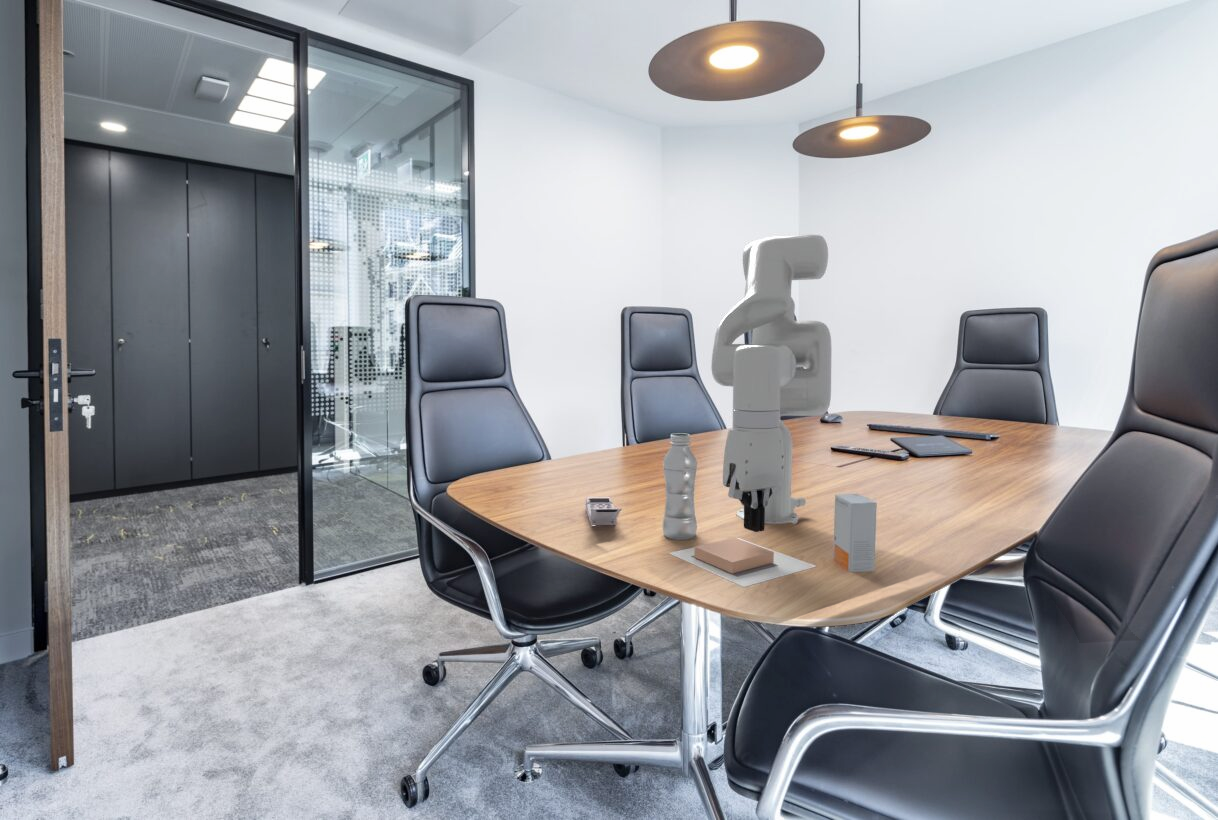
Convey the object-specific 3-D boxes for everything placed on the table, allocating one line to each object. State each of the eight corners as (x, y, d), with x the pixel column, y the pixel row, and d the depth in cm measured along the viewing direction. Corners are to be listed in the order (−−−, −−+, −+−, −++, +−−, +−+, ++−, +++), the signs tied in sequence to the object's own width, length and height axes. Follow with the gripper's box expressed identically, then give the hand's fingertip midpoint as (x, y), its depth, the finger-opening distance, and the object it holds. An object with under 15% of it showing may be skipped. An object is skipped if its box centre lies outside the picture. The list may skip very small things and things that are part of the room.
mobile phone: (591, 509, 116) (584, 480, 141) (590, 539, 117) (583, 505, 142) (622, 508, 117) (610, 480, 142) (622, 538, 118) (609, 505, 142)
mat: (737, 542, 114) (737, 537, 113) (816, 572, 98) (817, 565, 98) (668, 558, 105) (668, 552, 105) (743, 593, 90) (743, 586, 90)
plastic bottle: (700, 536, 117) (701, 432, 115) (693, 547, 111) (693, 437, 109) (667, 533, 119) (667, 431, 118) (658, 544, 113) (658, 436, 111)
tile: (734, 537, 107) (694, 546, 102) (773, 551, 99) (732, 562, 94) (734, 548, 107) (694, 558, 102) (773, 563, 99) (732, 574, 95)
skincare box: (831, 564, 102) (833, 493, 101) (856, 564, 102) (859, 493, 101) (849, 578, 96) (851, 502, 95) (875, 577, 96) (878, 502, 95)
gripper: (771, 415, 108) (768, 517, 110) (706, 421, 100) (704, 531, 102) (805, 419, 102) (802, 528, 104) (738, 425, 94) (736, 543, 96)
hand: (753, 529), depth 103 cm, fingers closed
